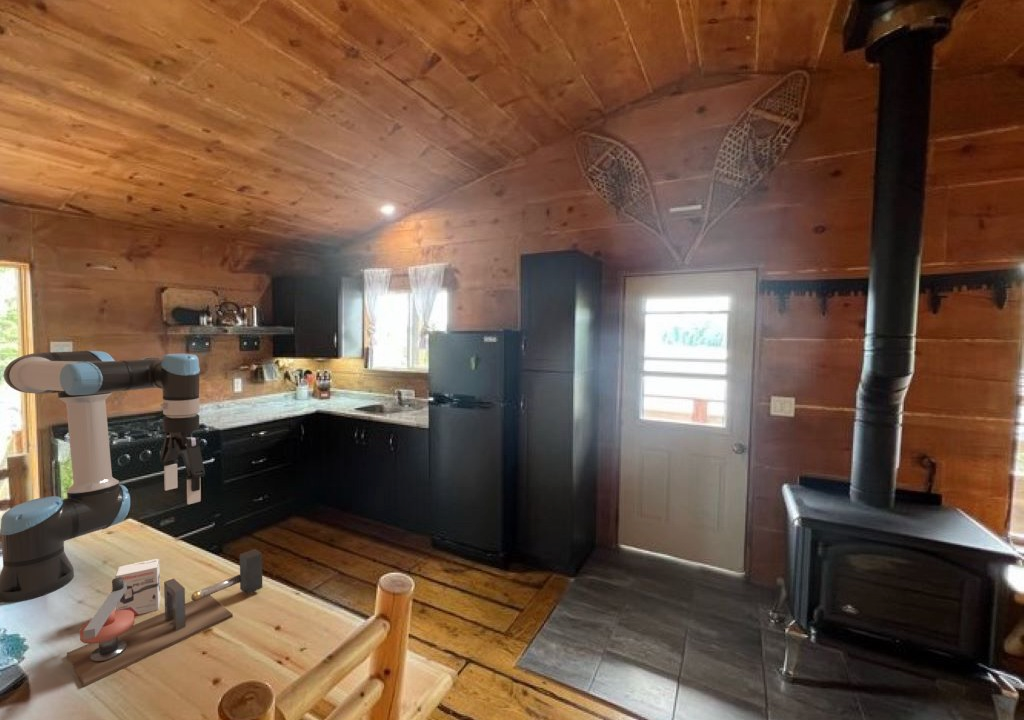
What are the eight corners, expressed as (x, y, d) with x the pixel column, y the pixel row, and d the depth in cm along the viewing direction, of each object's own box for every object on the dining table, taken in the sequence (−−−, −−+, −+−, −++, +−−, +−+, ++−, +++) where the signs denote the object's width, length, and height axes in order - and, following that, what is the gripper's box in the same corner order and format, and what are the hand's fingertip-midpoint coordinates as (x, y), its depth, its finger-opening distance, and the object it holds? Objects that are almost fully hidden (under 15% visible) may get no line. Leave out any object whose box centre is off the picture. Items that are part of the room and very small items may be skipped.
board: (67, 656, 100) (66, 652, 100) (208, 596, 123) (208, 593, 123) (84, 686, 92) (84, 682, 92) (232, 616, 115) (232, 613, 115)
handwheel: (61, 663, 90) (59, 624, 90) (98, 610, 107) (97, 577, 106) (118, 650, 94) (117, 614, 93) (146, 601, 110) (145, 570, 110)
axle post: (87, 654, 100) (86, 632, 100) (121, 639, 105) (121, 618, 105) (94, 666, 97) (93, 644, 96) (130, 650, 101) (129, 629, 101)
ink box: (115, 621, 112) (113, 575, 111) (119, 610, 116) (117, 566, 116) (159, 610, 117) (157, 566, 116) (160, 600, 121) (159, 557, 120)
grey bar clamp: (188, 611, 115) (187, 573, 114) (255, 582, 128) (254, 548, 127) (195, 617, 113) (194, 579, 112) (262, 587, 126) (261, 553, 125)
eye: (165, 619, 112) (164, 581, 111) (174, 615, 114) (173, 578, 113) (175, 631, 108) (174, 591, 107) (185, 626, 110) (184, 588, 109)
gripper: (144, 409, 119) (145, 487, 121) (185, 425, 105) (186, 513, 107) (177, 405, 125) (178, 480, 127) (221, 420, 112) (221, 504, 113)
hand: (182, 495), depth 117 cm, fingers open, 13 cm apart
